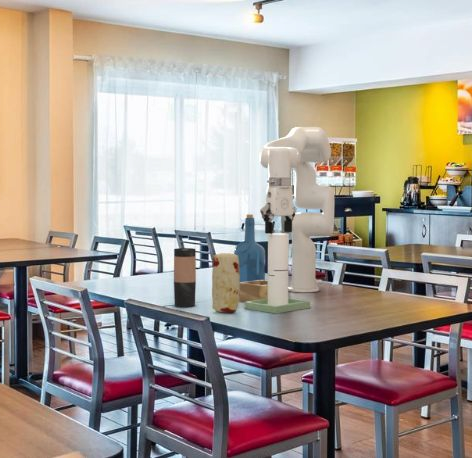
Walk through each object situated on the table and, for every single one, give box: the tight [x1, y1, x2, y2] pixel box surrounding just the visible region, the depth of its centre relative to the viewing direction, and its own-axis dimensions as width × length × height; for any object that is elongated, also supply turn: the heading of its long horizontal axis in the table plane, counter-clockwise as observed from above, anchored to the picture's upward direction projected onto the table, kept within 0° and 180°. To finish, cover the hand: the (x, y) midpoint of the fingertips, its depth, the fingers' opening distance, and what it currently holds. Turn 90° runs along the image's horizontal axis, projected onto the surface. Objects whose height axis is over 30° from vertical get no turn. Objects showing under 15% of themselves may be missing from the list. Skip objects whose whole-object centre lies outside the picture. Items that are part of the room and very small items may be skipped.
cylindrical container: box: [267, 232, 290, 306], centre depth 270 cm, size 7×7×25 cm
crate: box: [238, 279, 268, 304], centre depth 285 cm, size 12×12×7 cm
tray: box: [244, 297, 311, 314], centre depth 271 cm, size 18×15×2 cm
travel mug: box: [173, 247, 197, 308], centre depth 274 cm, size 8×8×20 cm
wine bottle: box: [233, 213, 266, 282], centre depth 328 cm, size 14×13×30 cm
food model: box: [211, 252, 240, 314], centre depth 261 cm, size 10×7×20 cm
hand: (278, 232), depth 270 cm, fingers open, 9 cm apart
